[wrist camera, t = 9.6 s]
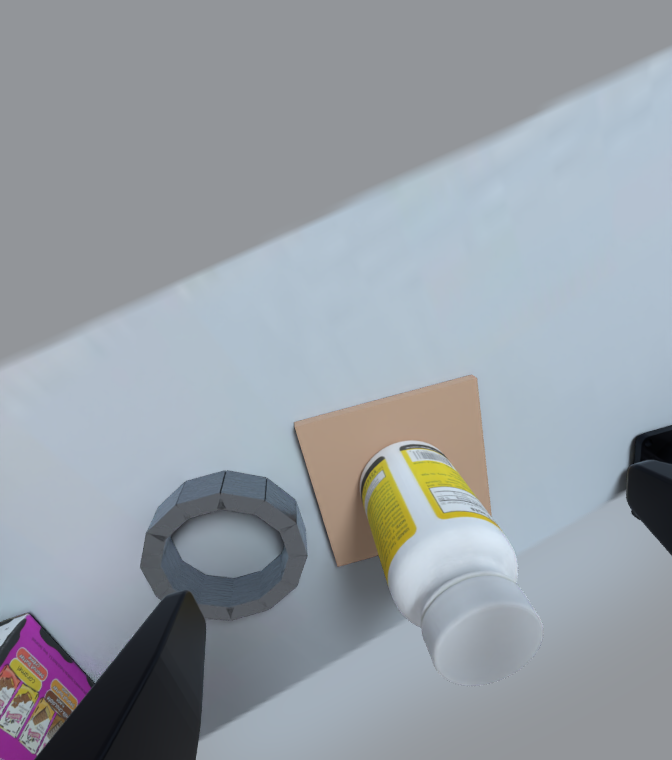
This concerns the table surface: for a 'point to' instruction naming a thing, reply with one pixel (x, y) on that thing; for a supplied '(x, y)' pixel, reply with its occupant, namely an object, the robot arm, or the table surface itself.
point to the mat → (375, 432)
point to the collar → (220, 592)
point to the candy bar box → (34, 687)
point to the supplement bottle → (448, 565)
